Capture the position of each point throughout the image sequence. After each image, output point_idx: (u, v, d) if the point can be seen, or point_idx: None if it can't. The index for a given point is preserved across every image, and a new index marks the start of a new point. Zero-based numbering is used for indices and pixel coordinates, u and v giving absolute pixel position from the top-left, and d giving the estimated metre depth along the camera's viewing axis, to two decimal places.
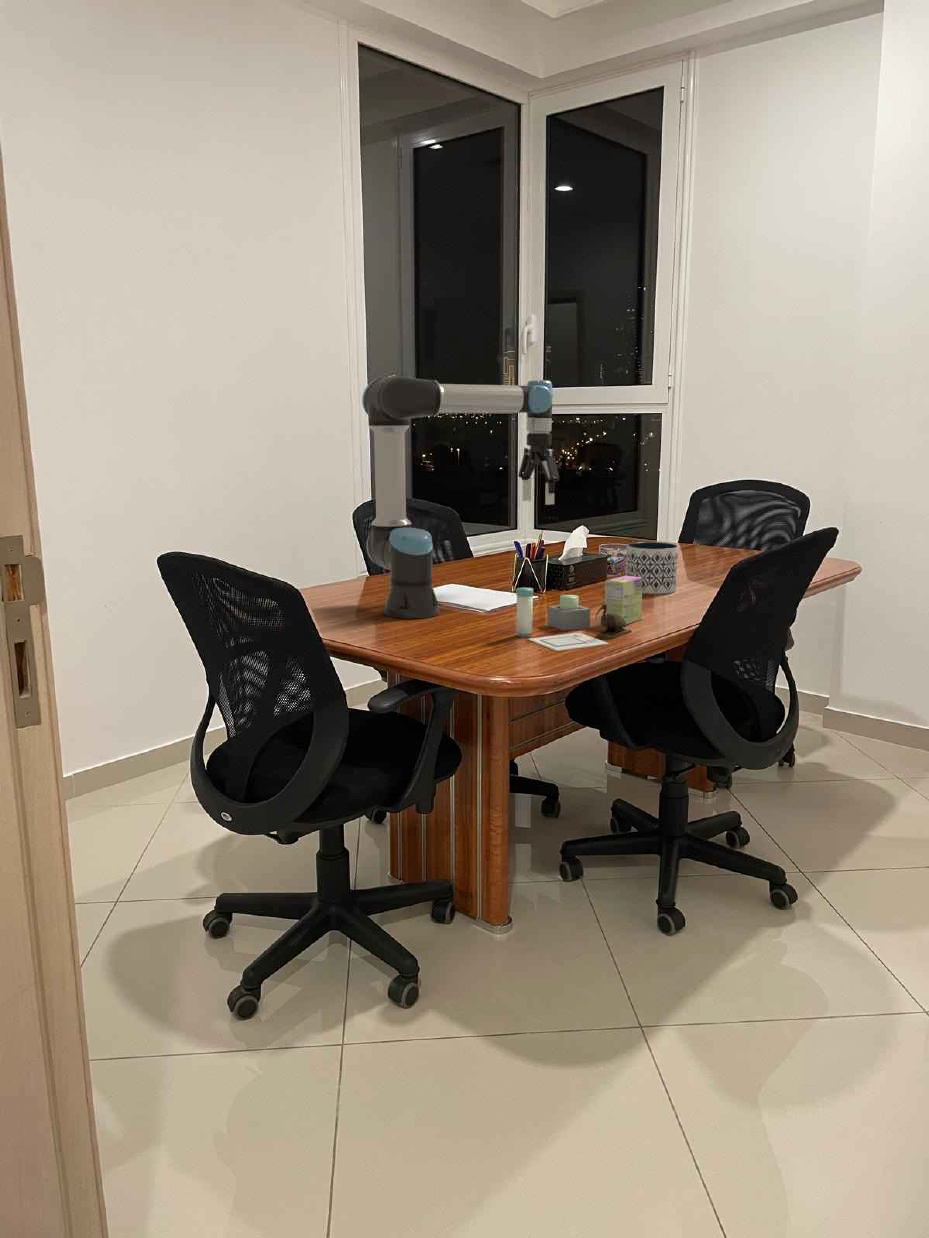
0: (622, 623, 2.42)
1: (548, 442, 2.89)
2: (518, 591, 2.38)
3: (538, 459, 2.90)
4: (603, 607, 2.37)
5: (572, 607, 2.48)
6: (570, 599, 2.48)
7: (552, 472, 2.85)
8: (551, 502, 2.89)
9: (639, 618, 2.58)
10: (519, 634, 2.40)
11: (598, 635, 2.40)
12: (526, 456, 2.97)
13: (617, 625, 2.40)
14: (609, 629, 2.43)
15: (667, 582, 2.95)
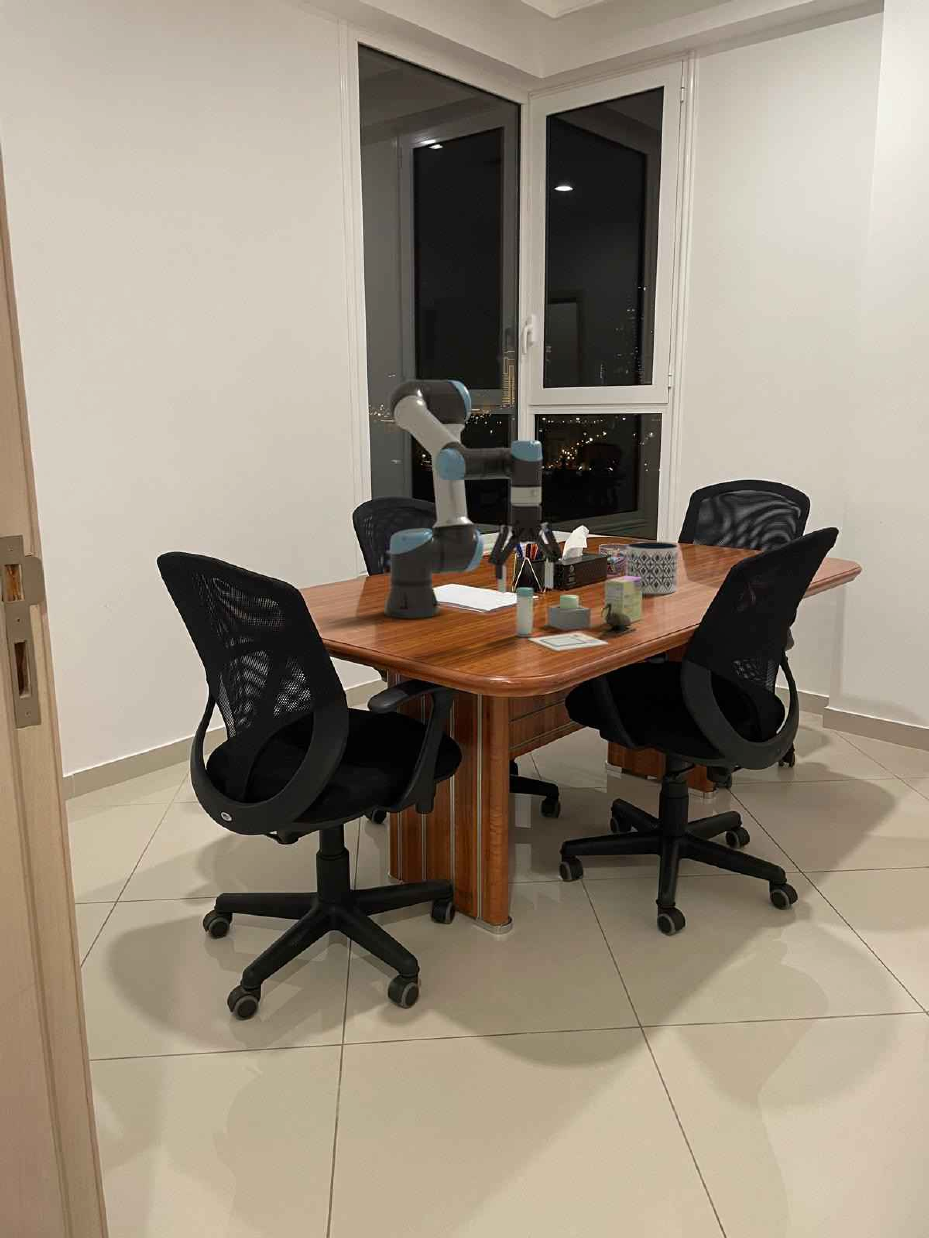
0: (627, 621, 2.43)
1: (516, 517, 2.32)
2: (518, 591, 2.38)
3: None
4: (608, 606, 2.38)
5: (572, 607, 2.48)
6: (570, 599, 2.48)
7: (491, 553, 2.33)
8: (501, 590, 2.35)
9: (639, 618, 2.58)
10: (519, 634, 2.40)
11: (603, 634, 2.42)
12: (544, 532, 2.39)
13: (622, 624, 2.41)
14: (614, 628, 2.44)
15: (667, 582, 2.95)
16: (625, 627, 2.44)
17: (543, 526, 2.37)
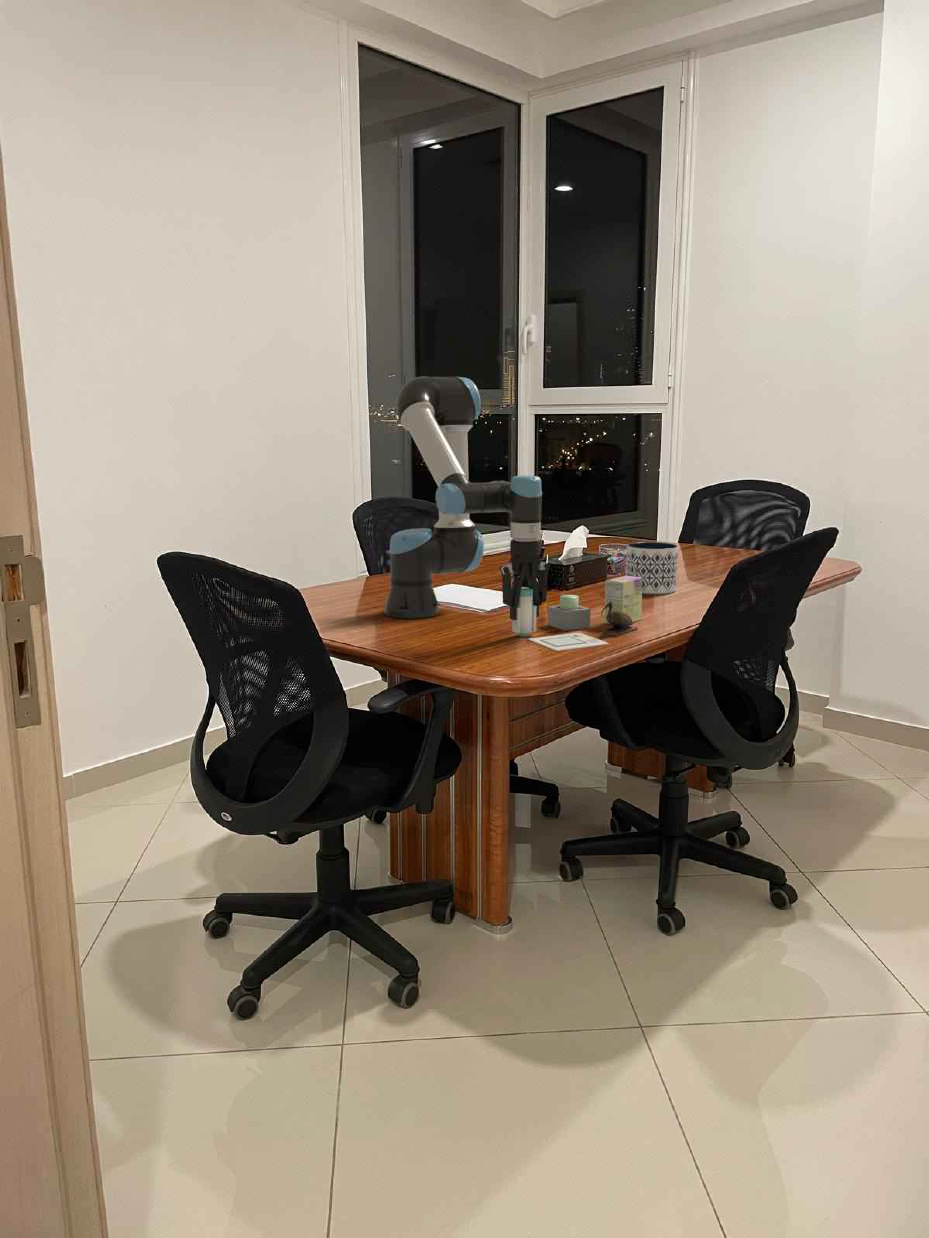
0: (628, 621, 2.44)
1: (515, 552, 2.34)
2: None
3: None
4: (609, 605, 2.39)
5: (572, 607, 2.48)
6: (570, 599, 2.48)
7: (503, 595, 2.37)
8: (515, 630, 2.39)
9: (639, 618, 2.58)
10: (519, 634, 2.40)
11: (604, 633, 2.43)
12: (539, 571, 2.41)
13: (623, 623, 2.42)
14: (615, 627, 2.46)
15: (667, 582, 2.95)
16: (626, 626, 2.45)
17: (542, 563, 2.39)
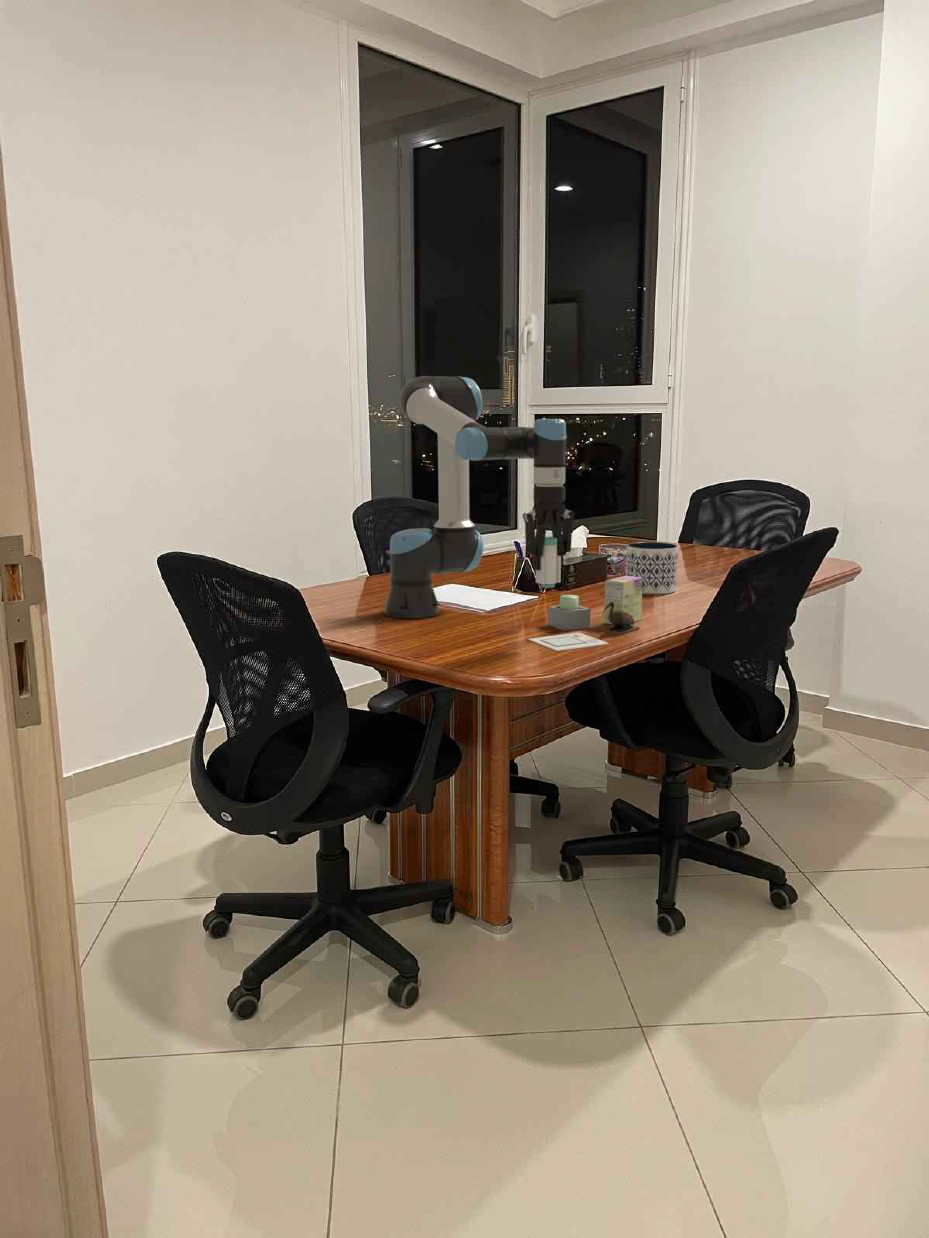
0: (630, 620, 2.45)
1: (539, 498, 2.24)
2: None
3: None
4: (610, 604, 2.40)
5: (572, 607, 2.48)
6: (570, 599, 2.48)
7: (526, 544, 2.27)
8: (539, 581, 2.30)
9: (639, 618, 2.58)
10: (543, 585, 2.30)
11: (606, 632, 2.44)
12: (564, 520, 2.31)
13: (624, 622, 2.43)
14: (617, 626, 2.46)
15: (667, 582, 2.95)
16: (628, 626, 2.45)
17: (566, 511, 2.30)
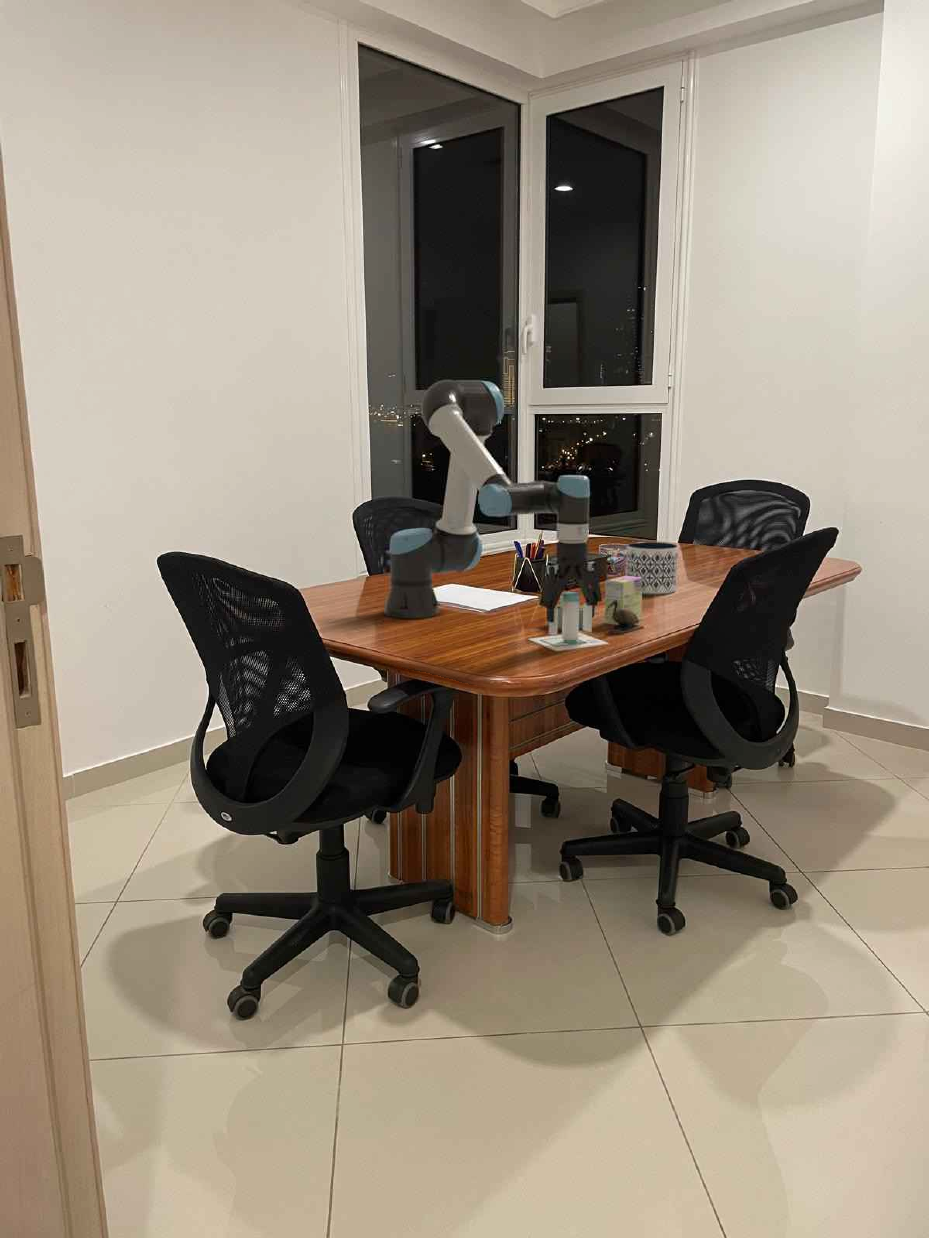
0: (634, 619, 2.46)
1: (562, 554, 2.25)
2: (564, 596, 2.29)
3: None
4: (614, 603, 2.42)
5: None
6: None
7: (541, 595, 2.27)
8: (552, 633, 2.29)
9: (639, 618, 2.58)
10: (565, 641, 2.32)
11: (609, 630, 2.45)
12: (588, 571, 2.32)
13: (628, 621, 2.44)
14: (621, 625, 2.48)
15: (667, 582, 2.95)
16: (632, 624, 2.47)
17: (589, 564, 2.31)
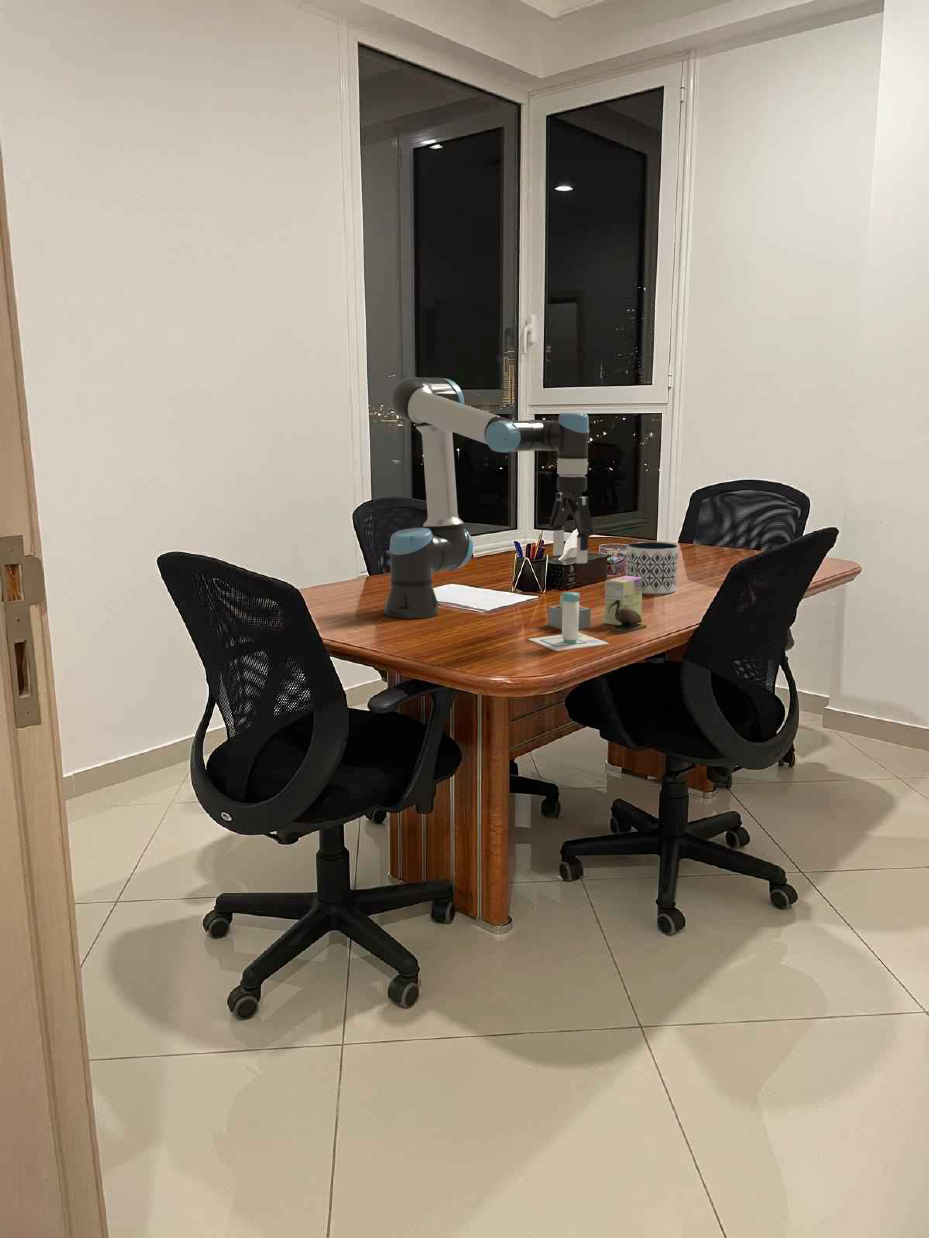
0: (636, 618, 2.47)
1: (582, 488, 2.38)
2: (564, 596, 2.29)
3: (569, 508, 2.39)
4: (616, 602, 2.43)
5: None
6: None
7: (584, 525, 2.34)
8: (583, 560, 2.38)
9: None
10: (565, 641, 2.32)
11: (612, 629, 2.46)
12: (558, 502, 2.47)
13: (631, 620, 2.45)
14: (624, 624, 2.49)
15: (667, 582, 2.95)
16: (635, 624, 2.48)
17: None
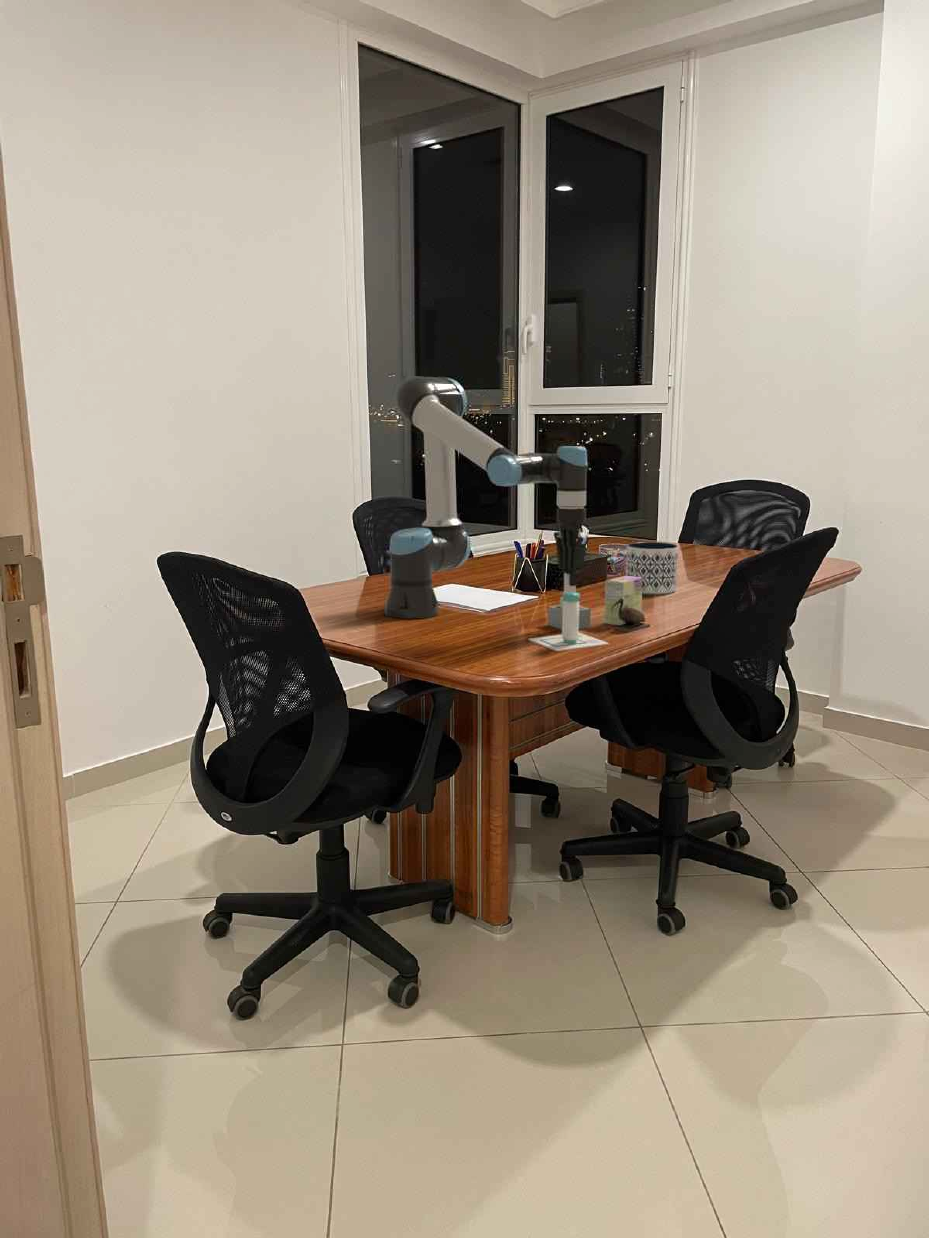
0: (640, 617, 2.48)
1: (583, 519, 2.43)
2: (564, 596, 2.29)
3: (568, 540, 2.45)
4: (619, 601, 2.44)
5: None
6: None
7: (576, 564, 2.44)
8: None
9: None
10: (565, 641, 2.32)
11: (615, 628, 2.47)
12: (559, 539, 2.50)
13: (634, 619, 2.46)
14: (627, 623, 2.50)
15: (667, 582, 2.95)
16: (638, 623, 2.49)
17: None
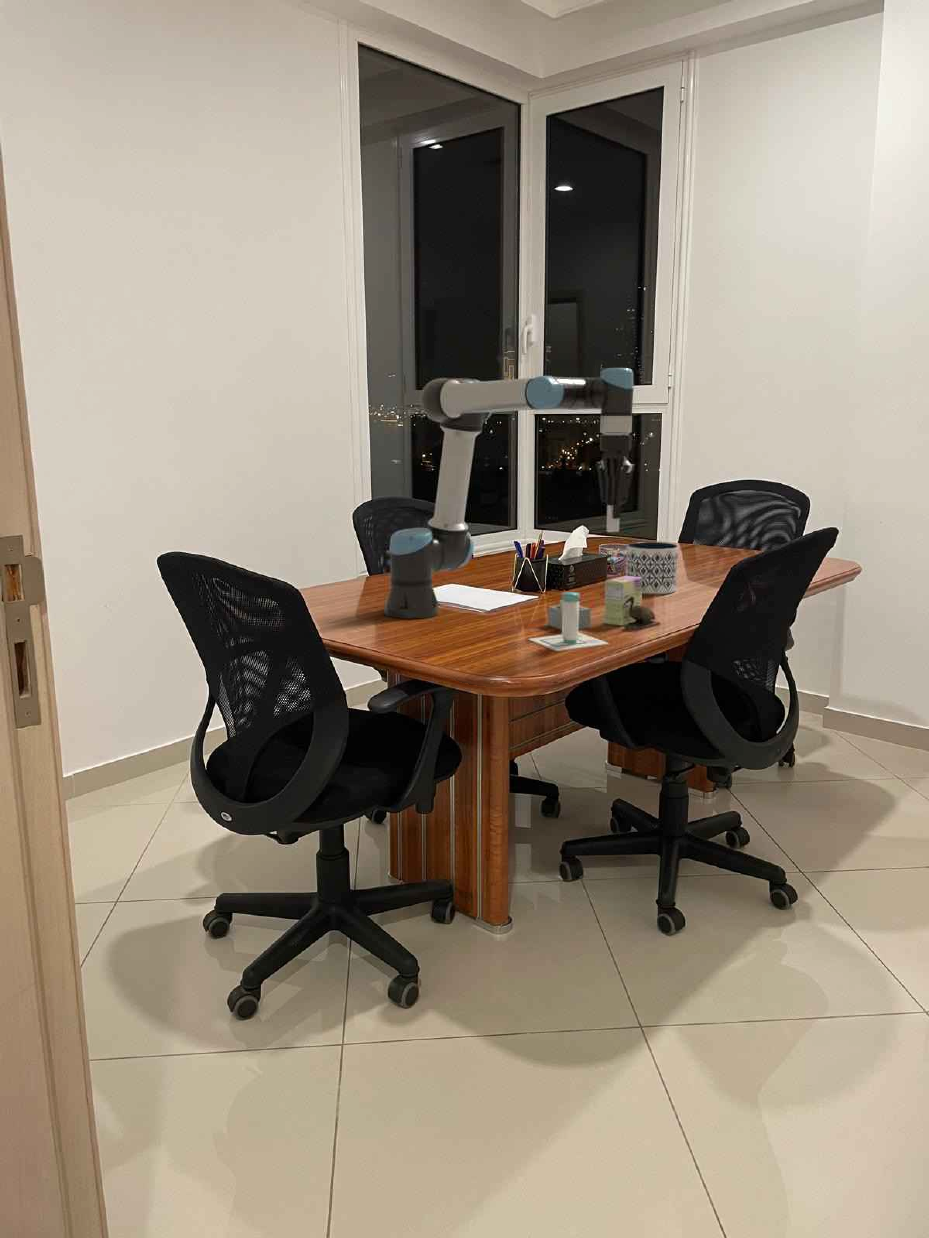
0: (650, 615, 2.51)
1: (628, 447, 2.29)
2: (564, 596, 2.29)
3: (612, 470, 2.30)
4: (630, 599, 2.46)
5: None
6: None
7: (621, 494, 2.30)
8: (615, 529, 2.35)
9: None
10: (565, 641, 2.32)
11: (626, 626, 2.50)
12: (601, 470, 2.36)
13: (644, 617, 2.49)
14: (638, 621, 2.52)
15: (667, 582, 2.95)
16: (648, 621, 2.51)
17: None
